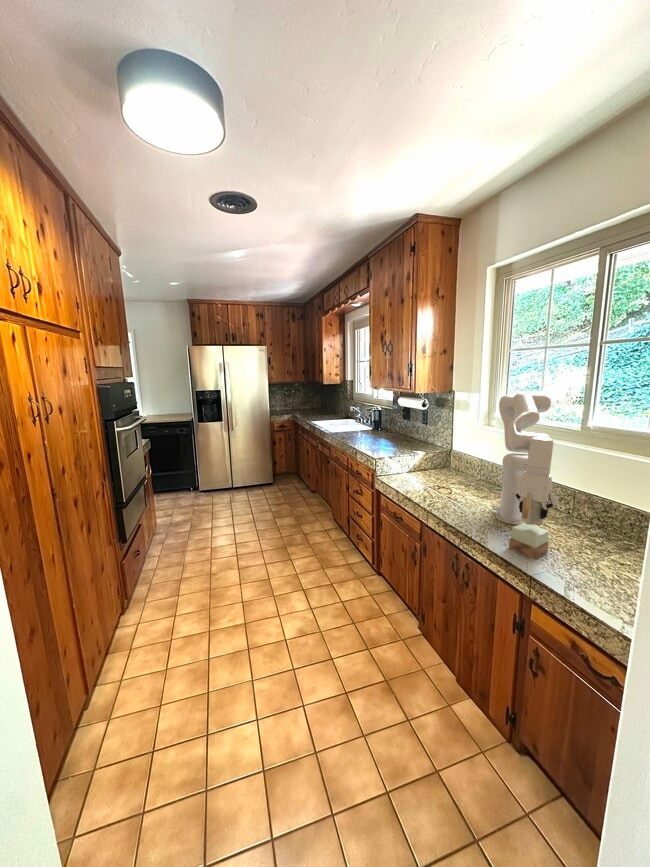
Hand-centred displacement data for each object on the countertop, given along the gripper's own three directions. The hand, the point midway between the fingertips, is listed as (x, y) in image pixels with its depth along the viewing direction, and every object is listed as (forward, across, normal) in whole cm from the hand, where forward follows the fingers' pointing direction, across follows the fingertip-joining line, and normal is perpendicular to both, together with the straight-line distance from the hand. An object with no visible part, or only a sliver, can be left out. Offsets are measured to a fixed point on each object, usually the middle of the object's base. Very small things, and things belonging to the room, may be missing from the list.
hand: (532, 514), depth 131 cm
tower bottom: (+15, 0, 0) cm, 15 cm away
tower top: (+11, 0, +1) cm, 11 cm away
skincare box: (+3, 0, 0) cm, 3 cm away
